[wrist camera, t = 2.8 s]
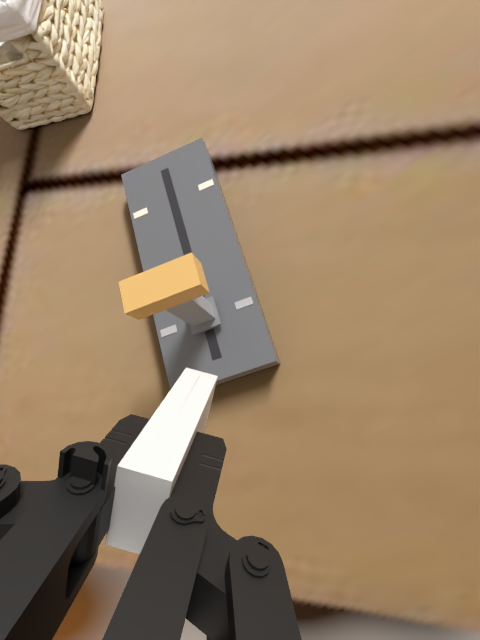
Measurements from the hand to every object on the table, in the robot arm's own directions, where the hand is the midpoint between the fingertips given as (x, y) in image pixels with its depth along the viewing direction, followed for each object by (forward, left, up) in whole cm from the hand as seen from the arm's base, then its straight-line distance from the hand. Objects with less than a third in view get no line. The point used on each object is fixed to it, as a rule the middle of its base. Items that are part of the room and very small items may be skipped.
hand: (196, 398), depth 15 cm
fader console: (-8, -15, -19) cm, 26 cm away
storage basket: (-25, -55, -19) cm, 64 cm away
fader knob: (-4, -9, -16) cm, 18 cm away
